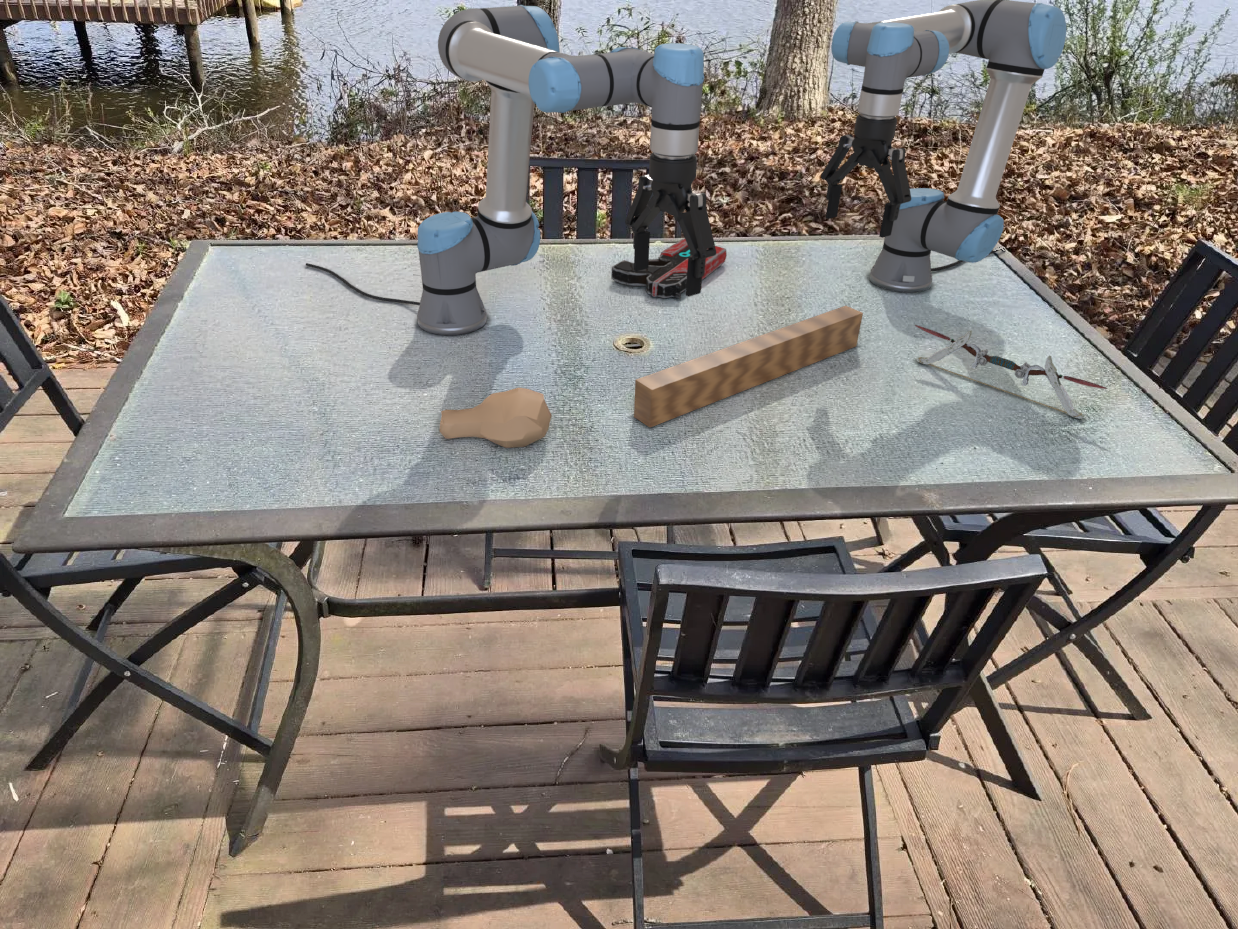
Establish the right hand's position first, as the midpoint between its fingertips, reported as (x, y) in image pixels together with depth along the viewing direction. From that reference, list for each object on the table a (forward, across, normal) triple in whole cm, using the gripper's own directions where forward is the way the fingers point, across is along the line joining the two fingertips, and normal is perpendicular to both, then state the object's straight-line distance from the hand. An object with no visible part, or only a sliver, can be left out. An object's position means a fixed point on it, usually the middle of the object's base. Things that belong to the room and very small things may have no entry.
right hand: (857, 226), depth 176 cm
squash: (+27, +11, +79) cm, 84 cm away
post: (+27, 0, +25) cm, 37 cm away
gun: (+27, +52, +2) cm, 59 cm away
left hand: (0, 0, +51) cm, 51 cm away
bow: (+27, -32, -12) cm, 43 cm away
